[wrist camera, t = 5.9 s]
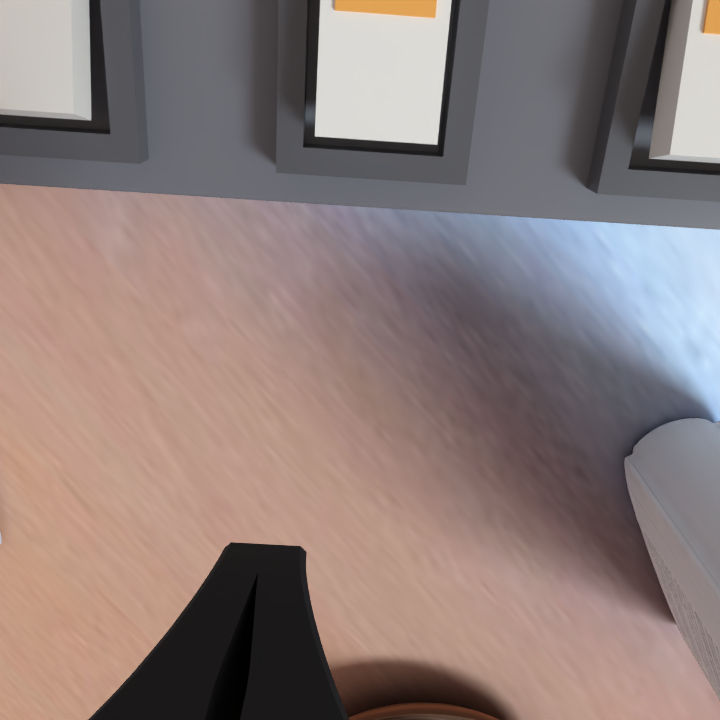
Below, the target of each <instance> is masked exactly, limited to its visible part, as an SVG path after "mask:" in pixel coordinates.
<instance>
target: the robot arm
mask: <svg viewBox="0 0 720 720" xmlns="http://www.w3.org/2000/svg"><path fill="white" fill-rule="evenodd" d="M0 544H1V533H0ZM89 720H349V718H348V716H347V713H346V711H345V709H344V706H343V704H342V701H341V699H340V696H339V694H338V691H337V688H336V686H335V683H334V680H333V677H332V675H331V672H330V669H329V666H328V663H327V660H326V657H325V654H324V651H323V648H322V644H321V641H320V637H319V633H318V630H317V626H316V622H315V619H314V615H313V610H312V606H311V601H310V596H309V590H308V584H307V576H306V551H305V550H304V549H303V548H302V547H301V546H286V545H268V544H249V543H230V544H229V545H228V546H226V547H225V548H224V550H223V552H222V554H221V555H220V557H219V559H218V561H217V562H216V564H215V565H214V567H213V569H212V570H211V572H210V573H209V575H208V576H207V578H206V579H205V581H204V582H203V584H202V585H201V587H200V588H199V590H198V591H197V593H196V594H195V596H194V597H193V598H192V600H191V601H190V602H189V604H188V605H187V606H186V608H185V609H184V610H183V612H182V613H181V614H180V616H179V617H178V618H177V620H176V621H175V623H174V624H173V625H172V627H171V628H170V629H169V630H168V632H167V633H166V634H165V635H164V637H163V638H162V639H161V640H160V641H159V643H158V644H157V645H156V646H155V647H154V649H153V650H152V651H151V652H150V653H149V655H148V656H147V657H146V658H145V659H144V660H143V662H142V663H141V664H140V665H139V666H138V668H137V669H136V670H135V671H134V672H133V673H132V675H131V676H130V677H129V678H128V679H127V680H126V681H125V682H124V683H123V684H122V685H121V687H120V688H119V689H118V690H117V691H116V692H115V693H114V694H113V695H112V696H111V697H110V698H109V699H108V700H107V701H106V702H105V703H104V704H103V705H102V706H101V707H100V708H99V709H98V710H97V711H96V712H95V714H94V715H93V716H92V717H91V718H90V719H89Z"/></svg>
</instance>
